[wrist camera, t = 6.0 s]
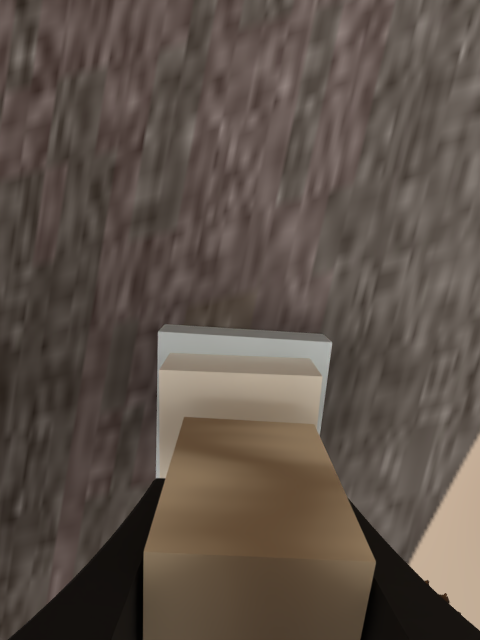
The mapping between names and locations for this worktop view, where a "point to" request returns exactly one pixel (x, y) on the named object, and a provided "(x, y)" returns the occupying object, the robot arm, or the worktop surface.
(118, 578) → the robot arm
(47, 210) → the worktop surface
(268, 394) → the tower top
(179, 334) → the tower base
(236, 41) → the worktop surface
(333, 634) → the maple block
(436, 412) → the worktop surface
